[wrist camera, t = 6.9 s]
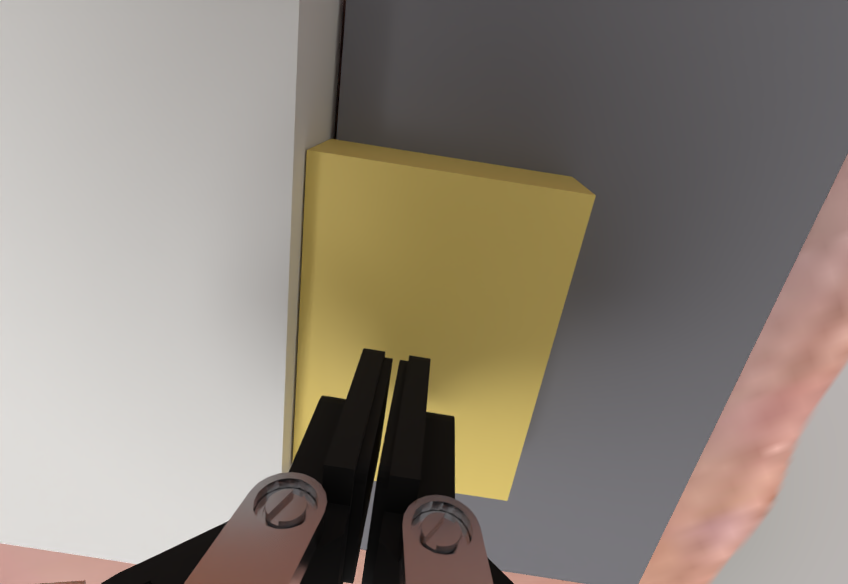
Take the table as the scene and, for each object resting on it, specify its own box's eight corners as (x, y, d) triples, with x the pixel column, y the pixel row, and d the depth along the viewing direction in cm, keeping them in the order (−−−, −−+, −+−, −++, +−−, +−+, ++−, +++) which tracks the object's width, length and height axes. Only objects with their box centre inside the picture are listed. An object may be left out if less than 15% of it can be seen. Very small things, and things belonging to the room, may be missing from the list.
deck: (-178, -87, 13) (-429, -154, 9) (343, -2, 13) (300, -35, 9) (-25, 442, 20) (-132, 523, 16) (309, 494, 20) (277, 585, 17)
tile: (330, 138, 14) (306, 150, 12) (572, 176, 14) (595, 195, 12) (312, 418, 18) (292, 468, 16) (500, 447, 18) (507, 500, 16)
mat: (357, -93, 12) (353, -101, 12) (904, -3, 12) (925, -7, 12) (311, 528, 21) (307, 541, 20) (629, 578, 21) (634, 591, 21)
